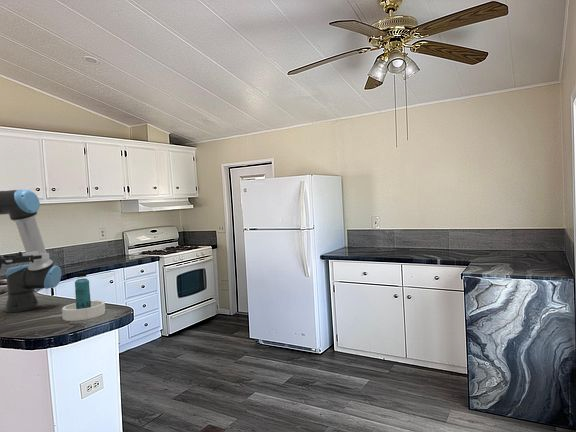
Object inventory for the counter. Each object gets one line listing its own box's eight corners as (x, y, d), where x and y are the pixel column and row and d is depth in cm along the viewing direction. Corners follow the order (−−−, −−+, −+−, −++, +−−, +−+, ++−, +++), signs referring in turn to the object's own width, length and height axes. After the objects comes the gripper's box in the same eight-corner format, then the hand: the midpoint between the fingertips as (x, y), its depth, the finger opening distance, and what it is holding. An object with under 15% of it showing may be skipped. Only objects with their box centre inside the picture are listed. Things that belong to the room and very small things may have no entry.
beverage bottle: (77, 312, 200) (74, 272, 200) (92, 310, 203) (89, 270, 202) (75, 316, 194) (72, 273, 194) (91, 313, 197) (88, 272, 196)
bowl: (57, 317, 198) (56, 307, 198) (95, 308, 211) (94, 299, 211) (72, 323, 186) (71, 312, 186) (111, 313, 199) (110, 303, 199)
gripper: (-19, 268, 185) (34, 261, 201) (-2, 273, 168) (54, 264, 184) (-20, 252, 184) (33, 245, 200) (-4, 255, 168) (52, 247, 184)
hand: (43, 254), depth 192 cm, fingers open, 13 cm apart
